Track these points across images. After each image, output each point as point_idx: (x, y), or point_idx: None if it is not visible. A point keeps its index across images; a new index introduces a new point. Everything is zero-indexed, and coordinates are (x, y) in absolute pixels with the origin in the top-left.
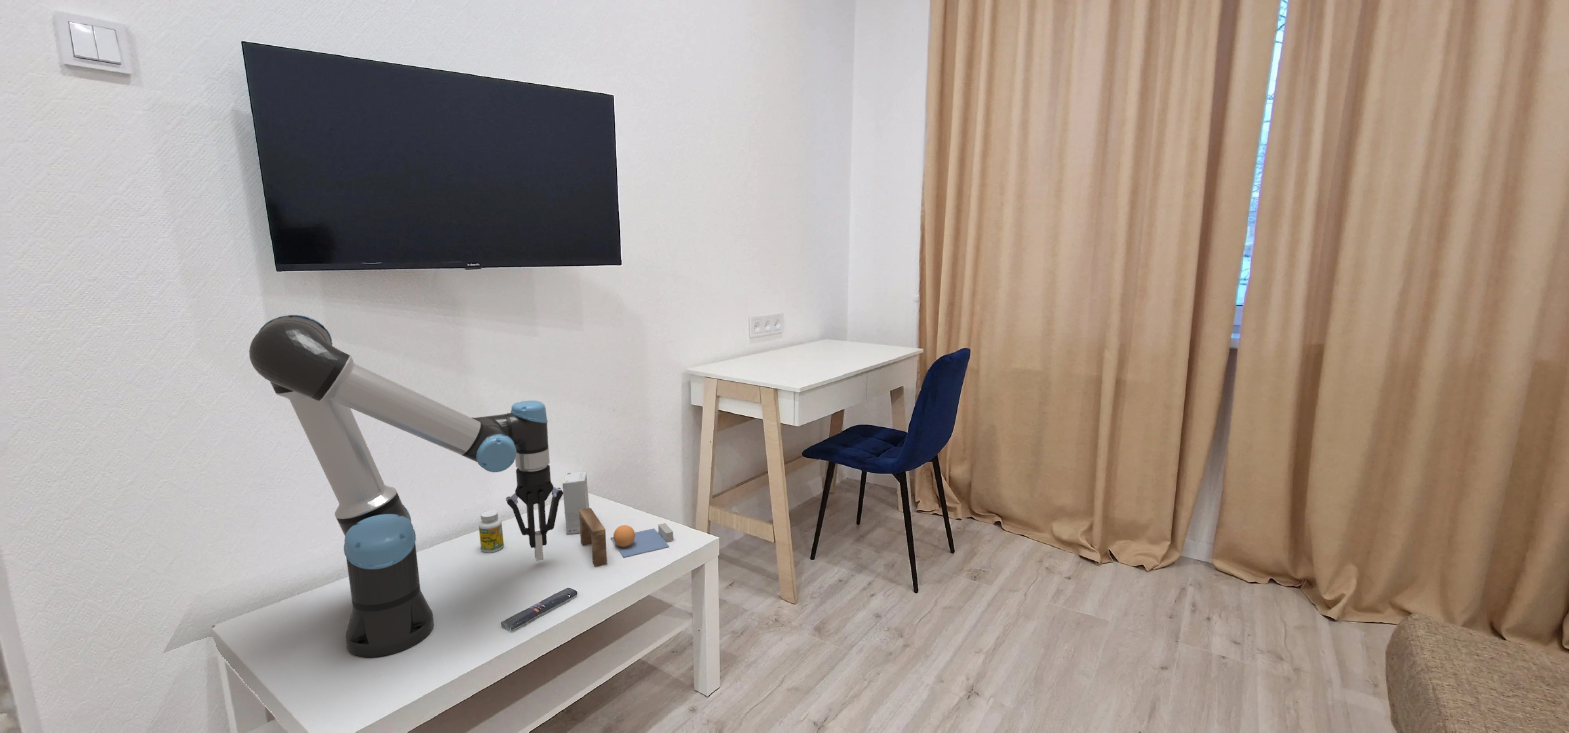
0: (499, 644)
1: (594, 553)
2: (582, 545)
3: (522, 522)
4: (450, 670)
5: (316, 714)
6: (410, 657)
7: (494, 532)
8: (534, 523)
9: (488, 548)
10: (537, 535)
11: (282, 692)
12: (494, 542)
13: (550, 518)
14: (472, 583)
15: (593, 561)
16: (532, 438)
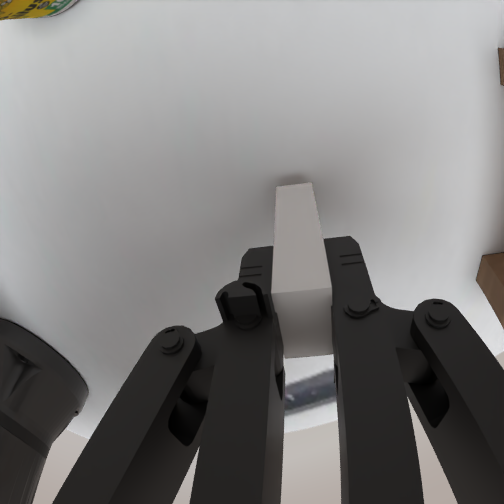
0: None
1: (499, 317)
2: (501, 83)
3: (176, 479)
4: None
5: None
6: (95, 412)
7: (2, 3)
8: (282, 455)
9: (36, 16)
10: (301, 353)
11: None
12: (40, 6)
13: (435, 446)
14: (66, 251)
15: (485, 277)
16: None
